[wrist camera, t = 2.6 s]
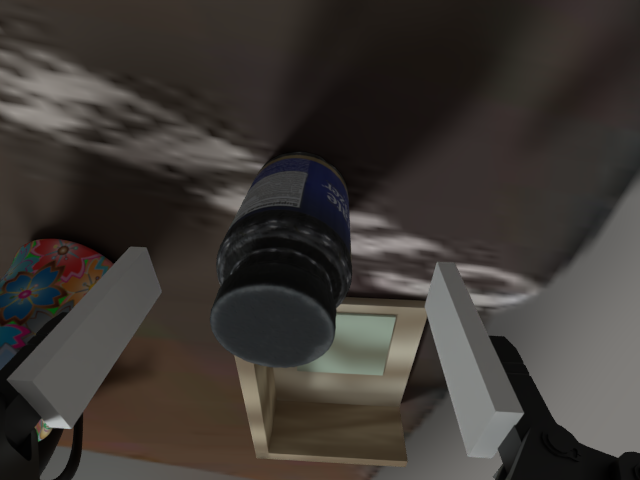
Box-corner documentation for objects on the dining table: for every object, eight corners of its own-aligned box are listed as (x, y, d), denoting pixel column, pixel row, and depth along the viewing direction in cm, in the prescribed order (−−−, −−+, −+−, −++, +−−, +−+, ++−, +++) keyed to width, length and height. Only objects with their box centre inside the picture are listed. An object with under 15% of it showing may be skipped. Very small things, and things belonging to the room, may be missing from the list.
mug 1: (121, 230, 23) (-7, 361, 15) (155, 318, 29) (76, 451, 20) (-42, 221, 24) (-264, 344, 15) (22, 310, 29) (-114, 438, 20)
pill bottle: (357, 224, 22) (370, 371, 13) (273, 241, 23) (232, 387, 14) (334, 136, 19) (331, 253, 10) (237, 161, 20) (155, 287, 11)
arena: (253, 292, 26) (234, 354, 22) (427, 300, 26) (447, 365, 21) (267, 398, 36) (256, 458, 31) (396, 405, 35) (405, 466, 30)
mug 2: (129, 413, 39) (77, 513, 31) (31, 407, 39) (-45, 505, 31) (105, 373, 34) (37, 480, 26) (-6, 366, 34) (-107, 470, 27)
